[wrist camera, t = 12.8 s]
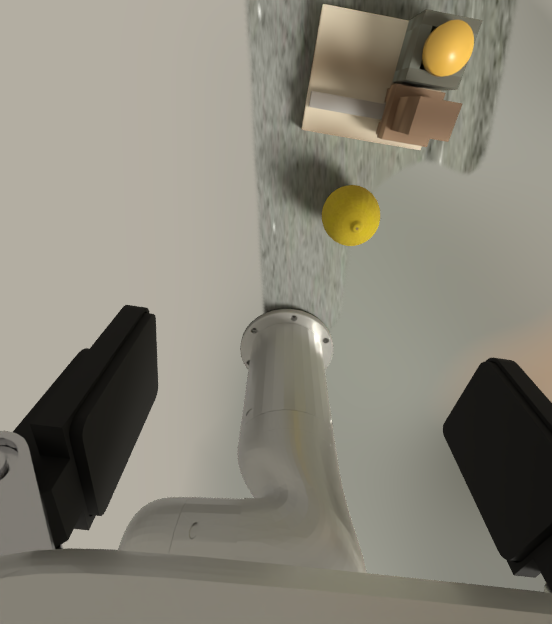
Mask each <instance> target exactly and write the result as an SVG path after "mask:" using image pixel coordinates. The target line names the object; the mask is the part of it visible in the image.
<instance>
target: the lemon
mask: <svg viewBox="0 0 552 624" xmlns="http://www.w3.org/2000/svg"><path fill="white" fill-rule="evenodd" d="M379 221H380V208H379V205H378V203H377V200H376V199H375V197H374V196H373V194H372V193H370V192H369V191H368V190H367V189H365V188H363V187H360V186H355V185H348V186H343V187H341V188H338V189H336V190H335V191H334V192H332V193H331V194H330V196H329V197H328V198H327V200H326V202H325V203H324V206H323V210H322V222H323V226H324V229H325V230H326V232H327V234H328V235H329V236H330V237H331V238H332V239H333V240H334V241H336V242H338V243H340V244H342V245H346V246H355V245H359V244H362V243H364V242H366V241H367V240H368V239H370V238H371V237H372V236H373V235H374V233H375V232H376V230H377V228H378V226H379Z"/></svg>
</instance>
